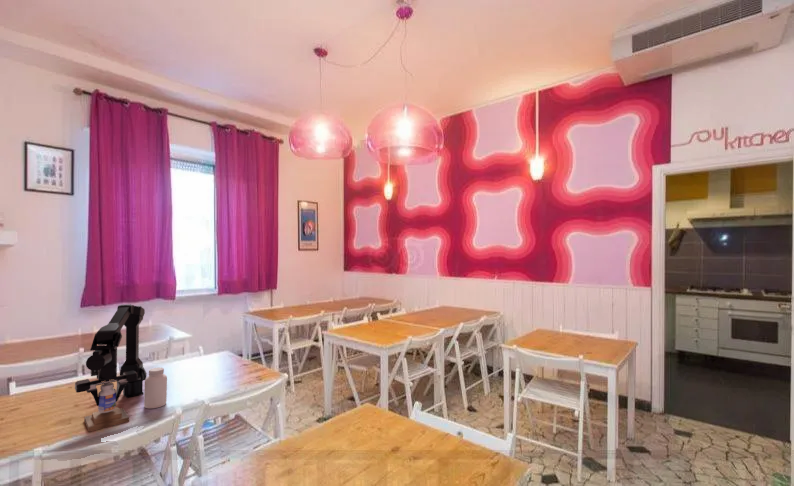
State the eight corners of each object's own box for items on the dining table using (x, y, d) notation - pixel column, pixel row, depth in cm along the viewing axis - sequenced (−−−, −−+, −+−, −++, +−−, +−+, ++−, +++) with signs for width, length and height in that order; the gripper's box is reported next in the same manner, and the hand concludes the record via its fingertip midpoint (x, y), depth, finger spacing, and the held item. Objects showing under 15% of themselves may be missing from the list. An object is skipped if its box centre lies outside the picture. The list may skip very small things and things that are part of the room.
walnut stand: (122, 411, 154) (122, 403, 154) (129, 421, 146) (129, 413, 146) (84, 420, 146) (84, 412, 146) (88, 431, 137) (88, 423, 137)
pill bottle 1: (106, 414, 143) (106, 387, 143) (94, 412, 144) (94, 386, 144) (119, 407, 148) (119, 382, 148) (108, 406, 149) (107, 381, 149)
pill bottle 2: (170, 403, 163) (171, 367, 163) (151, 410, 155) (152, 373, 155) (158, 400, 166) (159, 365, 166) (139, 407, 159) (140, 370, 159)
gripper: (132, 353, 158) (131, 391, 158) (73, 362, 145) (72, 404, 145) (138, 359, 150) (138, 399, 150) (76, 369, 137) (76, 413, 137)
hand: (107, 403), depth 146 cm, fingers closed on pill bottle 1, 5 cm apart
